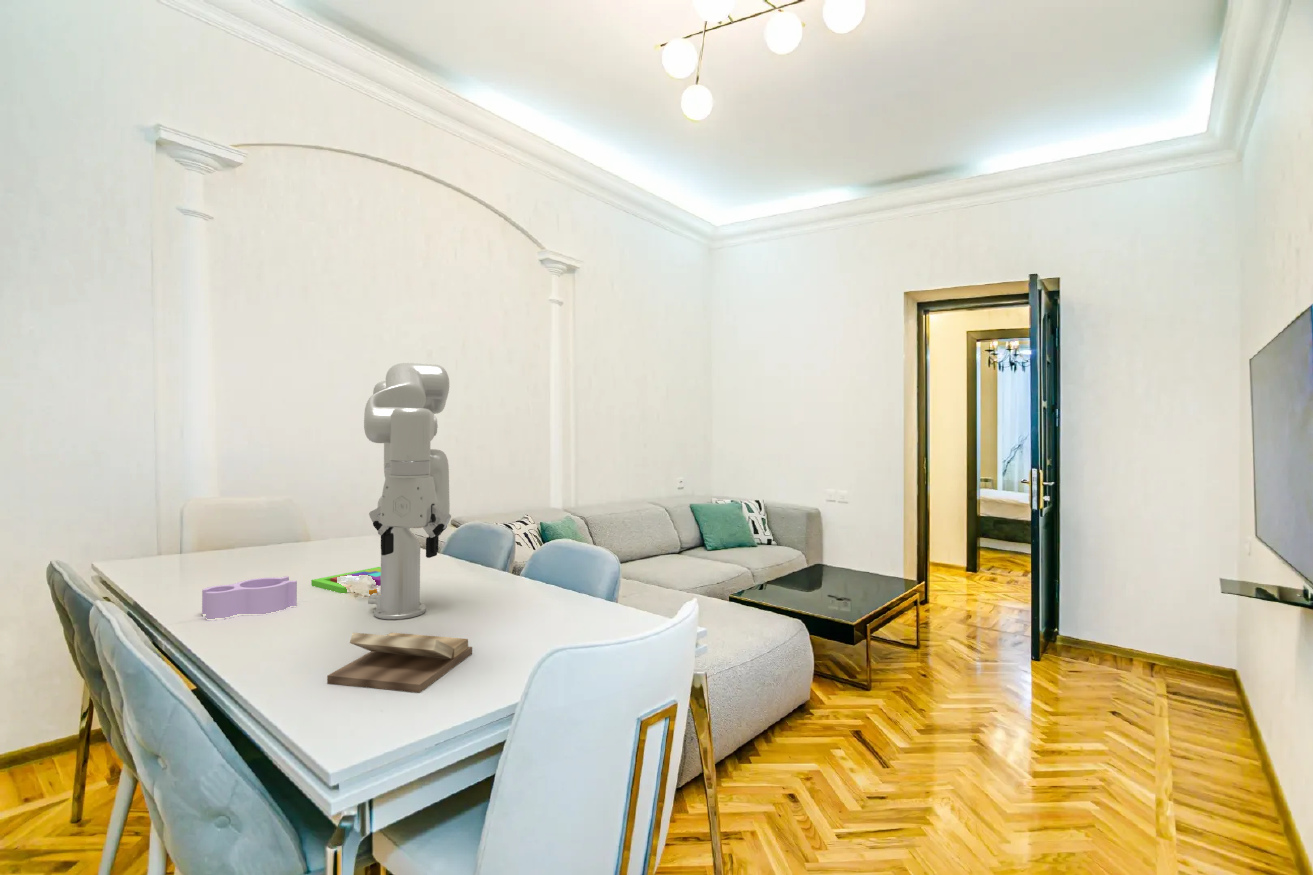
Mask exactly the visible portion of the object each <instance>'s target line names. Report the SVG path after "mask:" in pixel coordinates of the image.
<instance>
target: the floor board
mask: <svg viewBox="0 0 1313 875" xmlns="http://www.w3.org/2000/svg"><path fill="white" fill-rule="evenodd" d="M387 635H388V636H400V637H412V638H424V639H436V640H438V641H440V642H442V643H444V644H446V645H448V646H450V647H452V648H454V649H453V653H452V657H451V658H441V657H430V656H419V655H408V654H396V653H385V652H374V651H369V652H367V653H366V654H364V655H362V656H360V657H358V658H357V659H355V660H353V661H351V662H349V663H347V664H346V665H343V667H340V668H339V669H337V670H335V671H333V672H331V673H329V674H327V677H326V678H327V679H326V684H327V685H328V684H329V685H338V686H339V685H341V686H348V687H349V686H350V687H358V688H359V687H360V688H367V689H368V688H370V689H379V690H388V691H397V692H398V691H399V692H407V693H419V694H420V693H422V691H424V690H425V689H427V688H428V687H429V686H431V685H432V684H433V683H435V682H436V681H438V680H439V679H440V678H442V677H443V676H444V675H445V674H447V673H449V672H450V671H451V670H452V669H454V668H455V667H457V666H458V665H459V664H460V663H462V662H463V661H464V660H466V659H467V658H468V657H470V656H472V654H473V647H472V646H469V639H468V638H461V637H447V636H439V635H438V636H437V635H436V636H435V635H427V634H426V635H425V634H413V633H402V632H390V633H388V634H387Z"/></svg>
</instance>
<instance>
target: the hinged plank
mask: <svg viewBox="0 0 1313 875" xmlns="http://www.w3.org/2000/svg"><path fill="white" fill-rule="evenodd" d="M349 644H352V645H354V646H356V647H359V648H362V649H363V650H366V651H369V652H371V651H374V652H385V653H396V654H408V655H419V656H430V657H441V658H451V657H452V653H453V649H454V648H452V647H450V646H448V645H446V644H444V643H442V642H440V641H438V640H436V639H424V638H412V637H400V636H388V634H386V635H385V634H373V633H361V632H352V634H351V636H350V641H349Z"/></svg>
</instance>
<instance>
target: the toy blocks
mask: <svg viewBox="0 0 1313 875" xmlns="http://www.w3.org/2000/svg"><path fill="white" fill-rule="evenodd" d="M347 575H352V576H359V575H368V576H371V577H372V579H373V580H375V582H376V585H378V586H377V587H381V566H376V567H370V568H366V569H361V570H357V571H356V570H355V571H351V572H345V573H341V574H335V575H330V576H325V577H320V578H314V579H311V582H310V583H311V585H312V586H311V585H310V586H311V587H314V586H315V587H314V588H318V589H322V590H326V589H327V590H326V591H330V590H331V591H330V592H334V591H335V593H339V594H341V593H345V594H348V593H347V589H346V587H344V586H342V585H341V584H339V583H337V577H340V576H347ZM376 585H375V586H376ZM373 589H374V590H369V594H370V595H372V594H373V593H377V594H378V589H377V588H373Z"/></svg>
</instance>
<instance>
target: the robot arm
mask: <svg viewBox="0 0 1313 875" xmlns="http://www.w3.org/2000/svg"><path fill="white" fill-rule="evenodd" d="M449 393H450V378H449V374H448V372H447V370H446V369H445V368H444V367H443V366H441V365H440V364H428V363H425V364H424V363H413V362H410V363H409V362H403V363H397V364H394V365H392V366H391V367H390V368H389V369H388V370H387V372H386V374H385V380H383V381H380V382H378V383H376V384H375V385H374V387H373V391H372V395H371V396H370V397H368V400H367V401H366V403H365V407H364V417H363V419H364V420H363V429H364V433H365V437H366V438H367V439H368V441H370V442H372V443H375V444H383V474H384V478H385V479H384V482H383V488H382V494H381V496H380V498H379V499H378V501H377V508H375V509H373V510H372V511H370V512H369V513H368V516H369V519H370V520H371V522H372V526H373V527H374V528H375V530H376V531H377V533H378V534H377V535H378V536H380V567H381V586H380V594H379V595H378V594H377V595H370V596H369V597H368V599H367V604H368V605H369V604H370V605H376V606H375V608H374V609H373V616H374V617H376V618H378V619H381V620H405V619H409V618H415V617H418V616H421V615H423V614H424V613H425V612H427V606H426V604H424V603H421V601H420V600H421V598H420V597H421V543H420V541H419V539H418V538H417V536H416V535H415V534H414V533H413V532H412V531H411V530H410V529H421V528H423V530H424V531H425V533H426V534H427V535H428V536H427V537H426V539H425V557H426V559H430V558H433V557H436V556H438V552H439V539H440V538H439V536H441V535H442V533H444V531H445V530H446V529H447V527H448V525H449V523H450V520H451V518H452V514H450V510H451V508H450V505H451V504H450V471H449V470H450V469H449V466H450V465H449V459H448V456H447V454H446V453H445V452H444V451H442V450H440V449H435V448H434V449H433V448H432V449H431V442H432V441H433V439H434V438H435V436H436V435H437V433H438V428H439V427H438V419H437V416H436V415H435V414H440V413H442V412H443V411H444V409H445V407H446V402H447V399H448V396H449Z"/></svg>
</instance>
